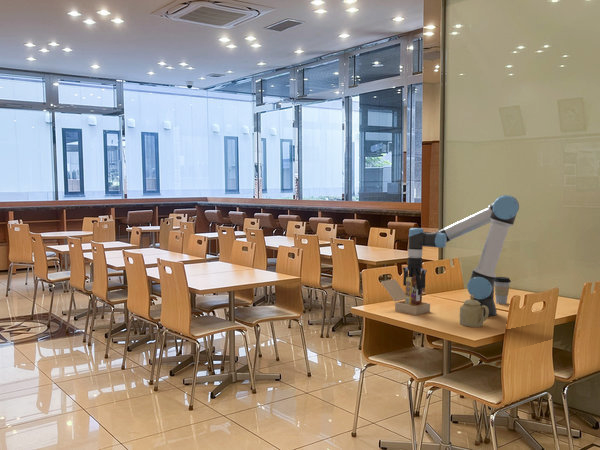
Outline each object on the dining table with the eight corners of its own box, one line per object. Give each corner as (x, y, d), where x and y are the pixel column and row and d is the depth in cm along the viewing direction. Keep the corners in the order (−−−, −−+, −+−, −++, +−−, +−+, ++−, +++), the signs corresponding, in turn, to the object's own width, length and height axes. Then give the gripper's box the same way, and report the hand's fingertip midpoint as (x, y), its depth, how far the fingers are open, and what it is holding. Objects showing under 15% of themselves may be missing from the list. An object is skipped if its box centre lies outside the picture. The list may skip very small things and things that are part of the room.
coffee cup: (492, 303, 331) (493, 278, 330) (493, 301, 340) (494, 276, 339) (509, 305, 327) (510, 279, 326) (510, 302, 336) (511, 277, 335)
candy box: (410, 306, 300) (411, 277, 299) (404, 305, 304) (405, 276, 303) (422, 305, 305) (422, 276, 304) (416, 303, 309) (417, 275, 308)
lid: (395, 279, 320) (394, 279, 321) (381, 281, 311) (380, 281, 311) (408, 298, 314) (408, 298, 314) (394, 301, 305) (394, 301, 305)
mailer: (429, 311, 305) (430, 303, 305) (416, 315, 296) (416, 306, 295) (408, 307, 314) (408, 299, 314) (394, 310, 305) (395, 302, 305)
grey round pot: (493, 325, 276) (495, 294, 276) (487, 329, 267) (488, 298, 266) (463, 320, 285) (465, 291, 284) (456, 324, 276) (457, 294, 275)
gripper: (433, 258, 299) (431, 301, 301) (405, 254, 312) (403, 296, 313) (425, 259, 294) (423, 303, 295) (397, 255, 306) (395, 298, 308)
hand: (413, 300), depth 304 cm, fingers closed on candy box, 5 cm apart
